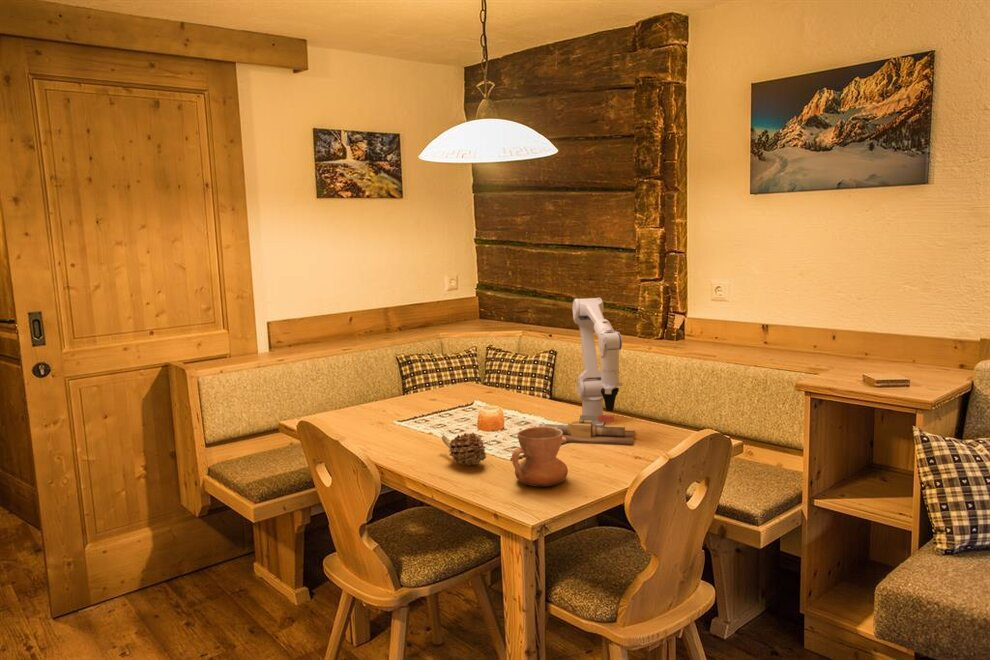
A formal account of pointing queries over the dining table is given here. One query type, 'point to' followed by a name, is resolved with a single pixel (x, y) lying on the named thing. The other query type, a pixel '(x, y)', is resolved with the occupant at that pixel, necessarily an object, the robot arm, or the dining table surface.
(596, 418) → the valve lever
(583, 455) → the dining table surface
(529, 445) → the ceramic jug
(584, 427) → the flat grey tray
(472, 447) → the pine cone
